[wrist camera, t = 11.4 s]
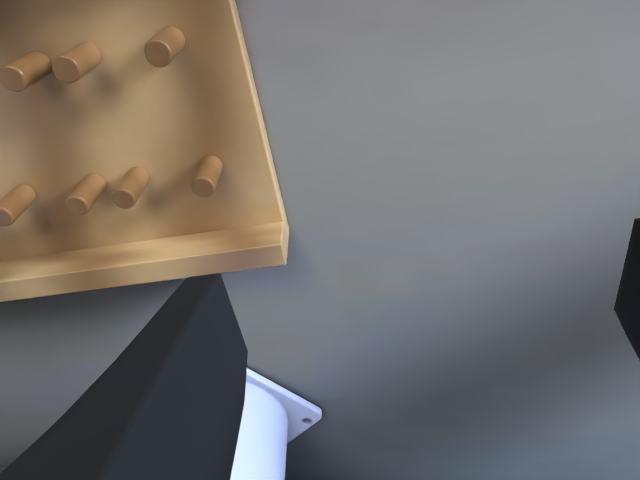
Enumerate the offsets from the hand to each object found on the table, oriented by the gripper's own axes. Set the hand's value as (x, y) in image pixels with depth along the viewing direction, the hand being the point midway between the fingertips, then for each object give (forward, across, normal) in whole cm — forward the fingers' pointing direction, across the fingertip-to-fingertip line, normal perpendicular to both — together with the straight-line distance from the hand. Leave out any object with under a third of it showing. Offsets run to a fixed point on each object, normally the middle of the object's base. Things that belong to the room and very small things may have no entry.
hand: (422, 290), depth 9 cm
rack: (+10, +12, -1) cm, 16 cm away
